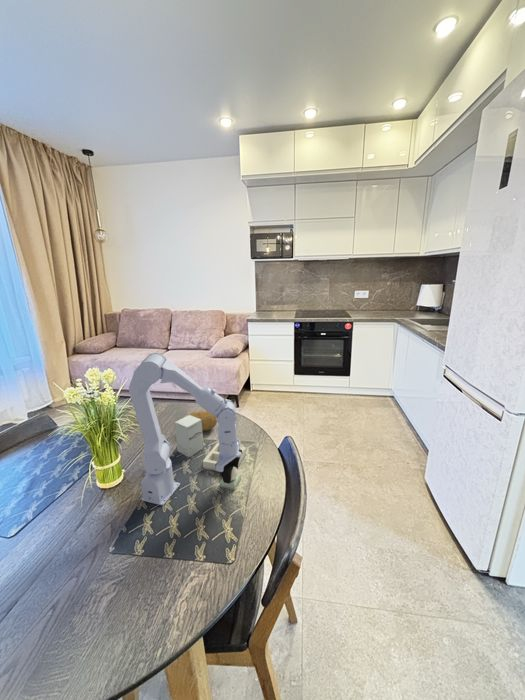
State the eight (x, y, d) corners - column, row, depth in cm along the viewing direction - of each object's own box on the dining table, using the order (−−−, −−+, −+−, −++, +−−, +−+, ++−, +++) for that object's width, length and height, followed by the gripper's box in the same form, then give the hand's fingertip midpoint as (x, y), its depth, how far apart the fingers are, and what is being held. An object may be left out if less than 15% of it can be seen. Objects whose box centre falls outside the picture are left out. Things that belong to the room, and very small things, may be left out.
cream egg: (234, 485, 93) (233, 472, 92) (220, 482, 95) (219, 469, 93) (240, 475, 98) (239, 463, 96) (226, 473, 99) (226, 460, 98)
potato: (189, 423, 135) (188, 407, 133) (220, 423, 134) (219, 407, 132) (183, 435, 125) (181, 418, 123) (216, 435, 125) (215, 418, 123)
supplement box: (189, 458, 110) (186, 427, 107) (177, 451, 115) (173, 421, 111) (204, 448, 116) (201, 419, 113) (192, 442, 120) (189, 414, 117)
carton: (233, 474, 101) (233, 466, 100) (203, 468, 104) (202, 461, 103) (246, 454, 111) (245, 447, 110) (217, 449, 115) (217, 442, 114)
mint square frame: (235, 489, 94) (234, 484, 93) (220, 486, 95) (220, 481, 94) (240, 479, 98) (240, 474, 98) (227, 476, 100) (226, 471, 99)
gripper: (230, 455, 84) (233, 495, 88) (248, 429, 98) (249, 465, 101) (208, 451, 87) (211, 490, 90) (228, 426, 100) (230, 461, 103)
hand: (230, 476), depth 96 cm, fingers closed on cream egg, 5 cm apart
